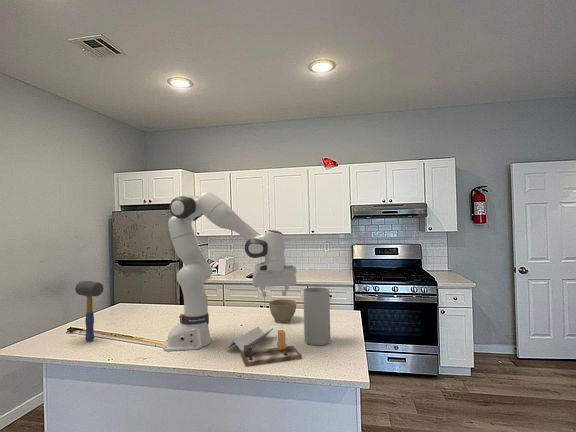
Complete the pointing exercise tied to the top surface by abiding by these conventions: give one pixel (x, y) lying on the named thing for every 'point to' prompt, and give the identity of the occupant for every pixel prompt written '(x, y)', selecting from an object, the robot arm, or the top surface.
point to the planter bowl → (282, 310)
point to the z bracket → (249, 338)
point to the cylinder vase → (316, 316)
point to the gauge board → (268, 355)
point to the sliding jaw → (281, 341)
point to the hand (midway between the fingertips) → (274, 295)
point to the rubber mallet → (89, 303)
